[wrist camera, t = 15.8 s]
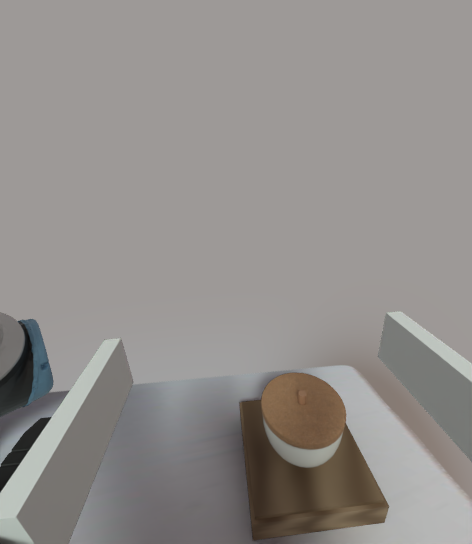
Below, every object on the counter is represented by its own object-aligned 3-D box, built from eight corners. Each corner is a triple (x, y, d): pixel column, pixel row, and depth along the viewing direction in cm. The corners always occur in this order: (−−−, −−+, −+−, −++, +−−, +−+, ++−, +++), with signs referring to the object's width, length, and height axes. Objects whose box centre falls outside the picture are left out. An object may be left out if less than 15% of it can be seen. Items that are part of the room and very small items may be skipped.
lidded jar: (293, 397, 42) (294, 353, 39) (355, 444, 34) (364, 394, 31) (247, 439, 36) (243, 391, 32) (310, 508, 28) (314, 455, 25)
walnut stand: (253, 540, 29) (251, 521, 27) (240, 416, 44) (239, 400, 42) (384, 522, 30) (389, 503, 28) (328, 406, 44) (330, 390, 43)
